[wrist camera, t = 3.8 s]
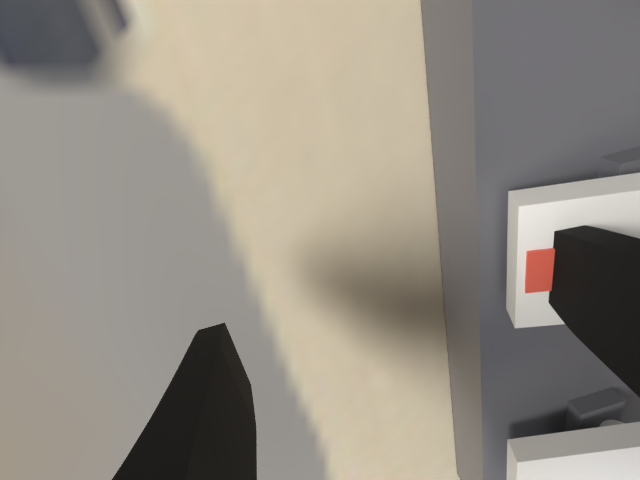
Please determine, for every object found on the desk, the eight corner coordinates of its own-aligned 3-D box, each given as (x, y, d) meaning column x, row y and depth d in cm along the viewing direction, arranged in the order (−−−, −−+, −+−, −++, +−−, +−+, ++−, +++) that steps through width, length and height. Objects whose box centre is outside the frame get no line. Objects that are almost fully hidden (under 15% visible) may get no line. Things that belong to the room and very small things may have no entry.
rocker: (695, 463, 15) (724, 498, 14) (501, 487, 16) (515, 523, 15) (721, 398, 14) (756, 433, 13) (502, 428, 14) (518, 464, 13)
